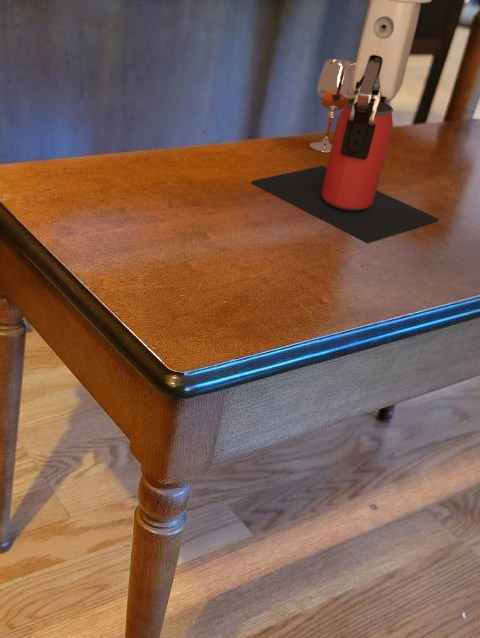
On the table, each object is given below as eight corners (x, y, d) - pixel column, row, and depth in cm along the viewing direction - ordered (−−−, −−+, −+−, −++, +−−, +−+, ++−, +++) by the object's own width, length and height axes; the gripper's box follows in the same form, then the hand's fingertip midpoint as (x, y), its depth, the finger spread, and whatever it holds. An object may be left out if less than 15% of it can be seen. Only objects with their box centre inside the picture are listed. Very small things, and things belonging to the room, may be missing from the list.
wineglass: (318, 155, 110) (337, 68, 102) (298, 141, 114) (314, 57, 106) (350, 153, 112) (370, 68, 104) (329, 140, 116) (347, 57, 108)
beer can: (324, 210, 92) (347, 110, 84) (316, 190, 97) (337, 94, 89) (376, 215, 92) (404, 115, 85) (365, 194, 97) (390, 99, 90)
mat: (438, 221, 94) (439, 218, 94) (367, 243, 86) (368, 240, 86) (322, 167, 105) (322, 165, 105) (251, 183, 98) (251, 180, 98)
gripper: (426, -4, 72) (378, 176, 83) (442, -22, 85) (399, 135, 96) (350, -16, 74) (313, 162, 84) (377, -32, 87) (342, 123, 98)
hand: (359, 146), depth 90 cm, fingers closed on beer can, 6 cm apart
